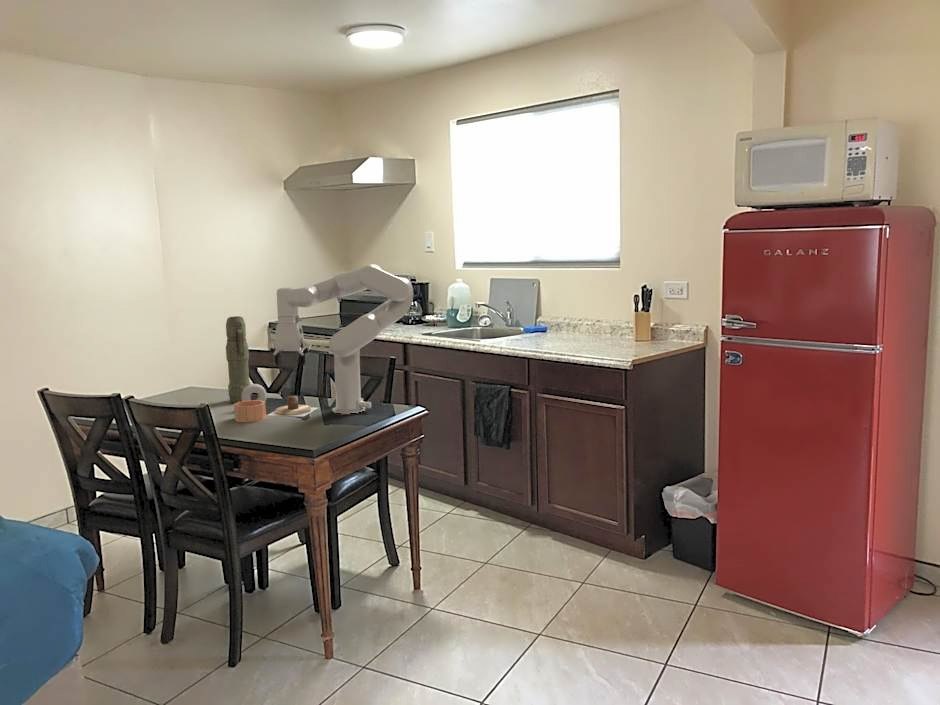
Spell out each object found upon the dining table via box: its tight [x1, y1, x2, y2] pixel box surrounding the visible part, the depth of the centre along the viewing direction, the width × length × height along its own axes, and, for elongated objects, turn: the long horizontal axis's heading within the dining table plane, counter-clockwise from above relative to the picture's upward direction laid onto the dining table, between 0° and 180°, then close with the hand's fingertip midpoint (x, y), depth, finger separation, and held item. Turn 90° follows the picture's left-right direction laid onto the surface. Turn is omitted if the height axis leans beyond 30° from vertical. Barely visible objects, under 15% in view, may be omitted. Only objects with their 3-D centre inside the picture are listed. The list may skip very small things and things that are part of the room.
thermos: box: [225, 315, 252, 404], centre depth 304 cm, size 9×12×35 cm
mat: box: [266, 406, 319, 418], centre depth 284 cm, size 15×15×1 cm
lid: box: [275, 395, 311, 415], centre depth 284 cm, size 13×13×6 cm
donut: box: [241, 383, 268, 402], centre depth 291 cm, size 10×4×10 cm, turn 125°
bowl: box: [233, 399, 267, 423], centre depth 273 cm, size 11×11×6 cm
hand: (290, 365), depth 281 cm, fingers open, 9 cm apart
